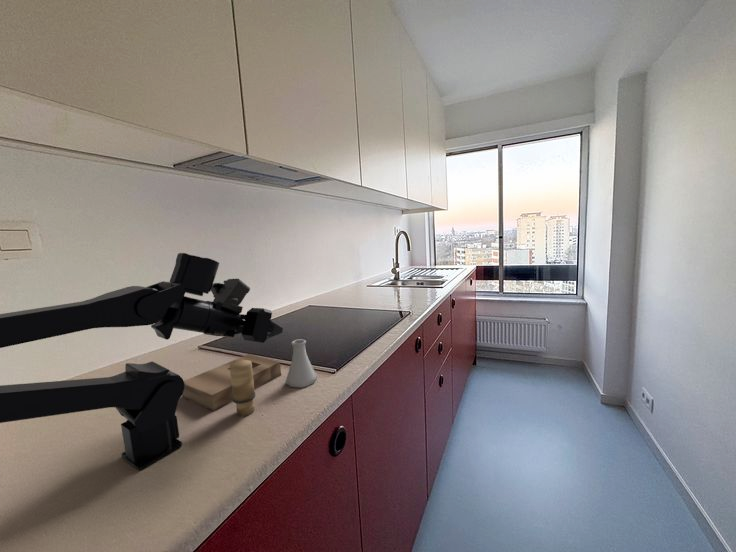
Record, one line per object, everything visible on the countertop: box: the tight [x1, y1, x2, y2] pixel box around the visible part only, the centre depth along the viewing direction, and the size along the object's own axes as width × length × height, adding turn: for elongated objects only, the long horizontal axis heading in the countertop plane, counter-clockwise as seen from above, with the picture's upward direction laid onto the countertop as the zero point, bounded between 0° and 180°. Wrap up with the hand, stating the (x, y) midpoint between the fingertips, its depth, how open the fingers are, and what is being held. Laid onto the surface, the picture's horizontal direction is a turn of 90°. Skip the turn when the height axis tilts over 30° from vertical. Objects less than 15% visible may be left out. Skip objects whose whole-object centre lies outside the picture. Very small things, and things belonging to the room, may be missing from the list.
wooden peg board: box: [181, 353, 282, 412], centre depth 72 cm, size 18×12×4 cm, turn 149°
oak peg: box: [230, 360, 256, 417], centre depth 60 cm, size 4×4×10 cm
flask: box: [285, 338, 318, 389], centre depth 73 cm, size 7×7×10 cm
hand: (268, 329), depth 68 cm, fingers open, 9 cm apart
